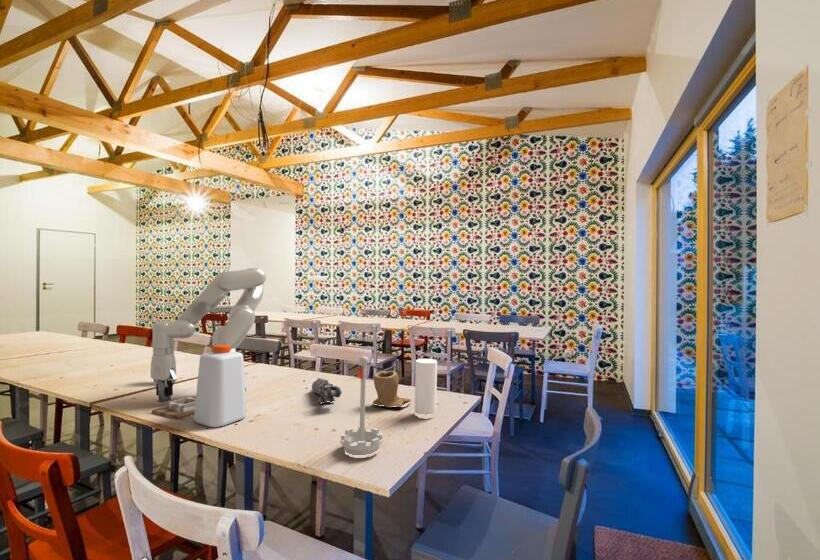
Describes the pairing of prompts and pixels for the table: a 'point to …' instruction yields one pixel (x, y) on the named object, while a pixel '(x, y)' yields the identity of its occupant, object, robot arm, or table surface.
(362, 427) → the flag stand
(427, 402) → the tall white tube
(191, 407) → the docking plate
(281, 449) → the table surface
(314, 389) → the grey lumpy piece
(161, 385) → the gold topped cylinder
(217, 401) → the plastic bottle
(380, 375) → the stone cup
